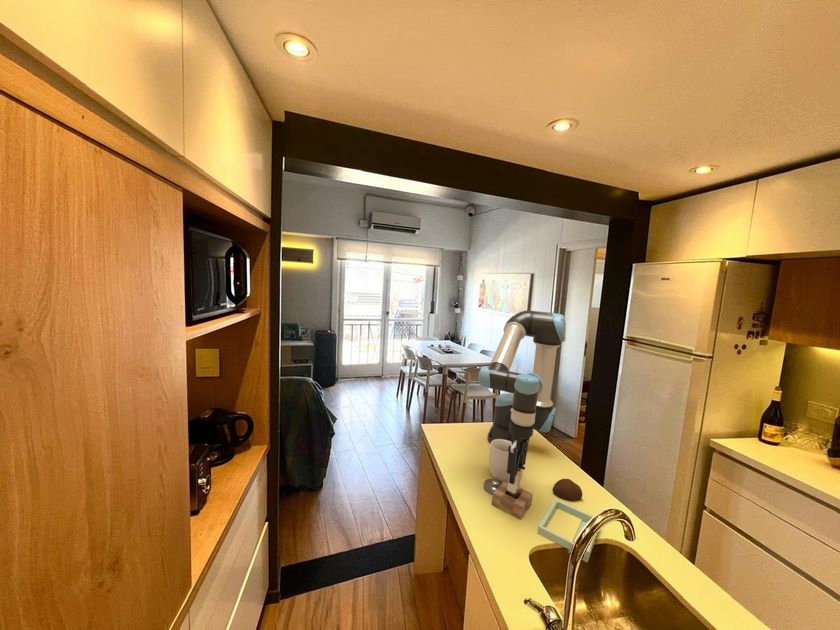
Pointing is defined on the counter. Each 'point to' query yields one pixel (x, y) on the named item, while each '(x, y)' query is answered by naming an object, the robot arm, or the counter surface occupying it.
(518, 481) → the pin
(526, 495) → the block
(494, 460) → the mug
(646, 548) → the counter surface
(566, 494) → the potato
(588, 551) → the light teal rectangular frame
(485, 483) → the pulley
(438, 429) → the counter surface
